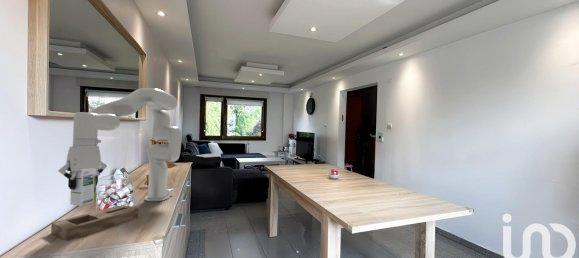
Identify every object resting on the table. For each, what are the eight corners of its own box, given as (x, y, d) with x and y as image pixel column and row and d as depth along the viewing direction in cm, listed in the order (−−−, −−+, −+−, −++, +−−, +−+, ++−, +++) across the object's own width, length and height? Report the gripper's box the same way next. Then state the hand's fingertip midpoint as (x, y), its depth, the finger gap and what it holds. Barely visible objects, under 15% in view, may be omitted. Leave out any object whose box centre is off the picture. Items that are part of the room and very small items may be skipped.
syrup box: (81, 206, 93) (82, 169, 93) (69, 204, 95) (70, 167, 95) (95, 201, 99) (97, 166, 99) (84, 200, 100) (85, 165, 100)
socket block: (51, 233, 93) (51, 223, 93) (122, 212, 116) (122, 204, 116) (67, 240, 88) (67, 229, 88) (137, 217, 111) (138, 208, 111)
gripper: (104, 141, 106) (102, 182, 106) (52, 143, 90) (50, 190, 90) (114, 142, 103) (112, 184, 103) (62, 144, 87) (60, 193, 87)
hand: (83, 186), depth 97 cm, fingers closed on syrup box, 6 cm apart
